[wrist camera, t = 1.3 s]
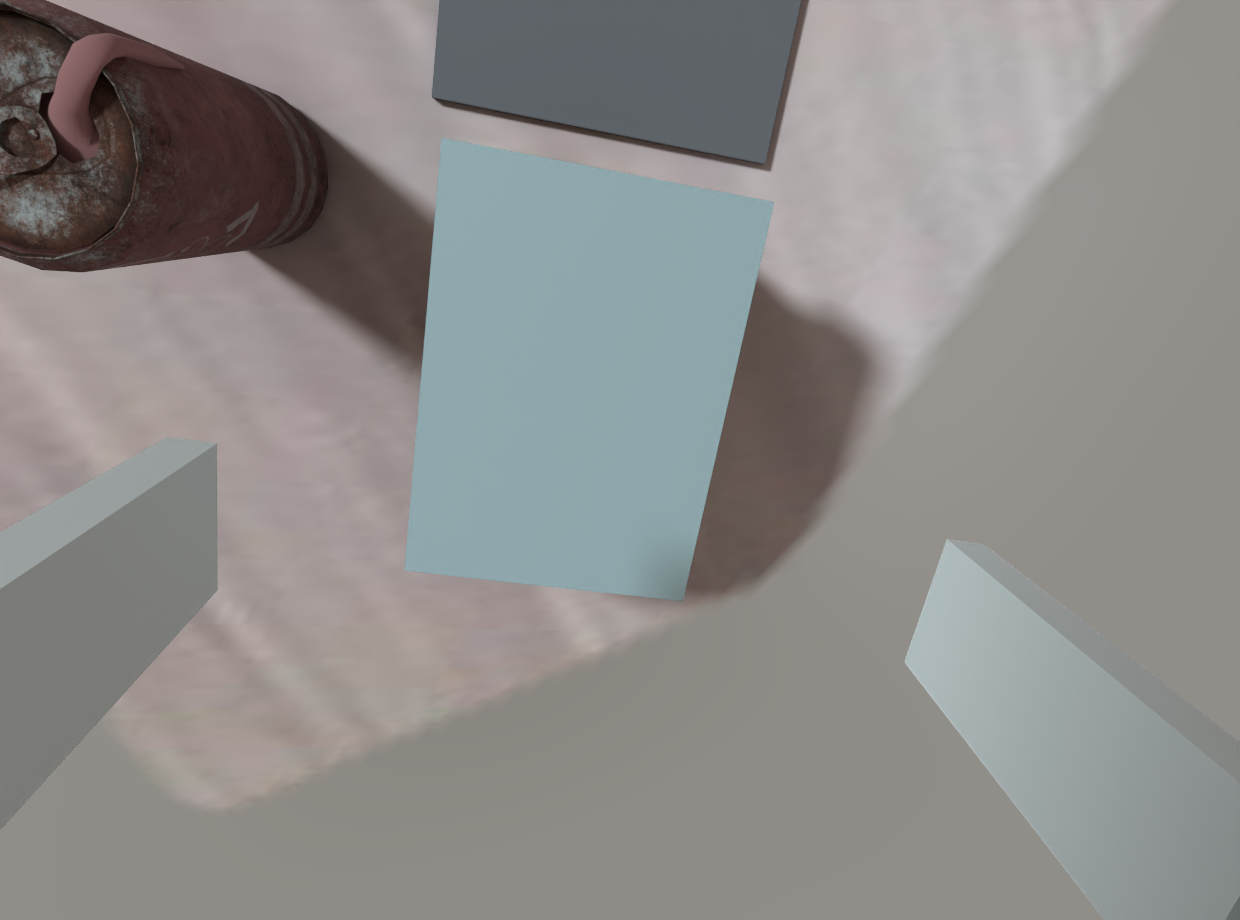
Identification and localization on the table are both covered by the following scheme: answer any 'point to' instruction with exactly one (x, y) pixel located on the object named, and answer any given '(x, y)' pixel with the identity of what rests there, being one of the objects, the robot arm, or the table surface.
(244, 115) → the can
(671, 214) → the lid
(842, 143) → the table surface
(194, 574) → the robot arm
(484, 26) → the mat
